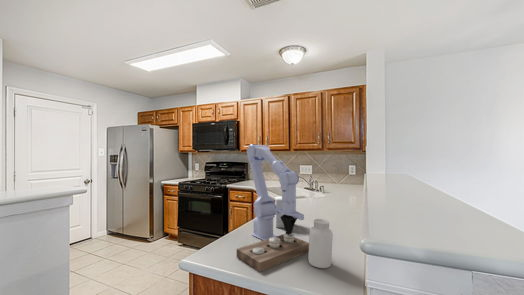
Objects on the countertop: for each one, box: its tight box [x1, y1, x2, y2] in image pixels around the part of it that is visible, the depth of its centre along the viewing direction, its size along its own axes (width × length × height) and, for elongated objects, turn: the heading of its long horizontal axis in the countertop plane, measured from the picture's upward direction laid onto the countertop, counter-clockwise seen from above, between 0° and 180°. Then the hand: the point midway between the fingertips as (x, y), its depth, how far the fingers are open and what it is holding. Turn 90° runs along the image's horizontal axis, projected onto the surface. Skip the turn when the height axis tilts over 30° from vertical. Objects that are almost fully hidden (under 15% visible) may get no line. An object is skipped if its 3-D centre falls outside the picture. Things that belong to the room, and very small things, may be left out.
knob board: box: [236, 233, 309, 273], centre depth 89 cm, size 14×26×3 cm, turn 129°
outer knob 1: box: [253, 248, 264, 256], centre depth 84 cm, size 4×4×3 cm
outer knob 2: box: [282, 232, 295, 244], centre depth 94 cm, size 4×4×3 cm
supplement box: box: [274, 195, 285, 229], centre depth 124 cm, size 9×9×15 cm
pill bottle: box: [307, 218, 334, 269], centre depth 81 cm, size 8×8×15 cm
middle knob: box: [269, 237, 280, 250], centre depth 89 cm, size 4×4×3 cm
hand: (288, 233), depth 94 cm, fingers closed
